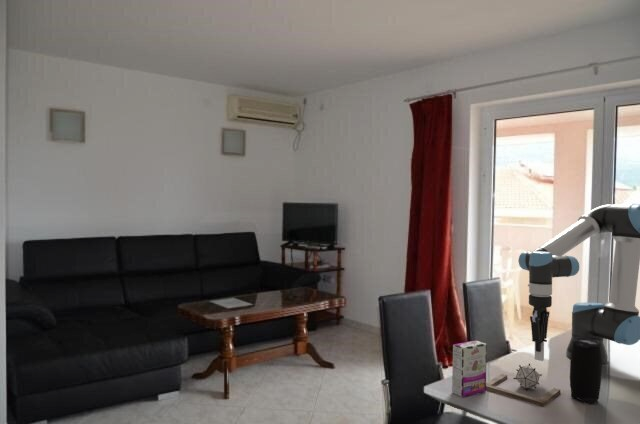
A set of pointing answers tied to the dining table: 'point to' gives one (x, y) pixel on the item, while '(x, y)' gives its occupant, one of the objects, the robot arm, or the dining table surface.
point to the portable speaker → (585, 370)
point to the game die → (527, 377)
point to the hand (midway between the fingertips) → (539, 359)
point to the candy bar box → (469, 368)
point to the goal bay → (541, 402)
